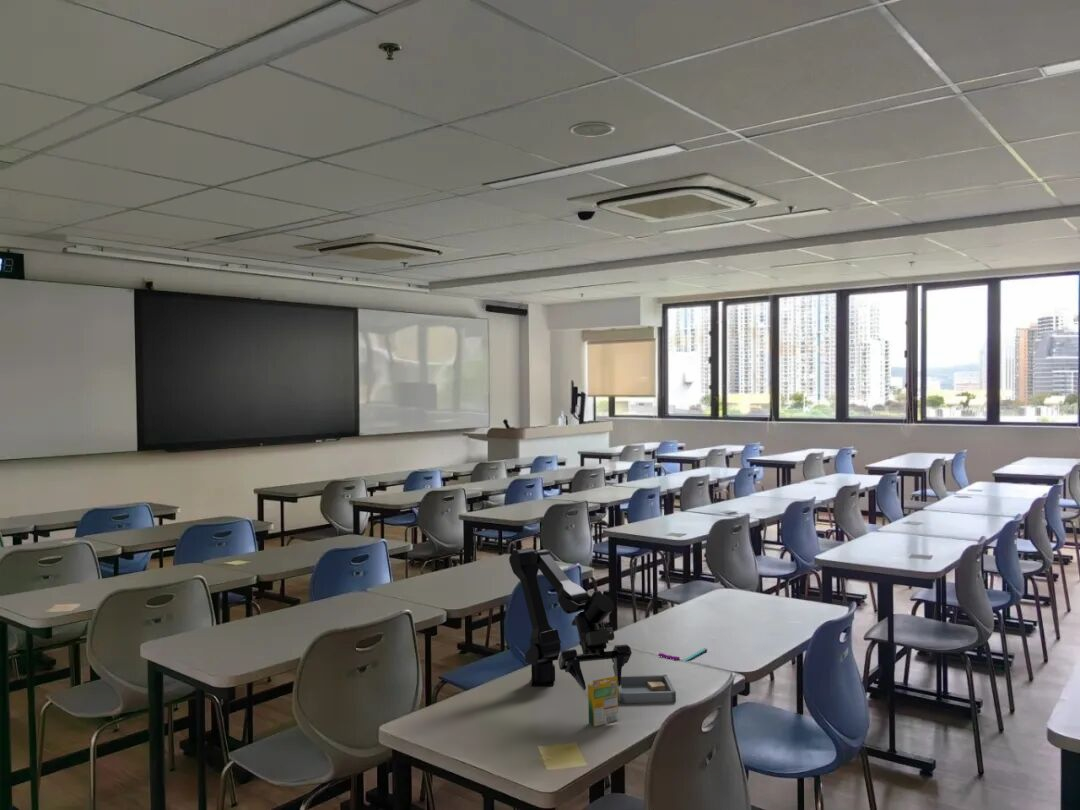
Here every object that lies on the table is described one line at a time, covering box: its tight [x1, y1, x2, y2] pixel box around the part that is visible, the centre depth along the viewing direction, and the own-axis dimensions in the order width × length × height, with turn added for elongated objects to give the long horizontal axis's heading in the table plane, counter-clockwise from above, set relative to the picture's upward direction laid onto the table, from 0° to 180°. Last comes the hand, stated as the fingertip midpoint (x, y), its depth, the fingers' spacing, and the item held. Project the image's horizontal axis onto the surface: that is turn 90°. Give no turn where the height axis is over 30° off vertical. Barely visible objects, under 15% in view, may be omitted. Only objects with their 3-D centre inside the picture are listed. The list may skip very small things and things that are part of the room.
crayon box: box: [587, 675, 619, 728], centre depth 202 cm, size 7×3×12 cm, turn 115°
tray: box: [617, 674, 677, 704], centre depth 220 cm, size 15×14×3 cm
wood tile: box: [647, 681, 666, 691], centre depth 223 cm, size 4×4×1 cm
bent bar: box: [658, 648, 708, 663], centre depth 249 cm, size 29×2×10 cm
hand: (602, 687), depth 202 cm, fingers open, 9 cm apart
